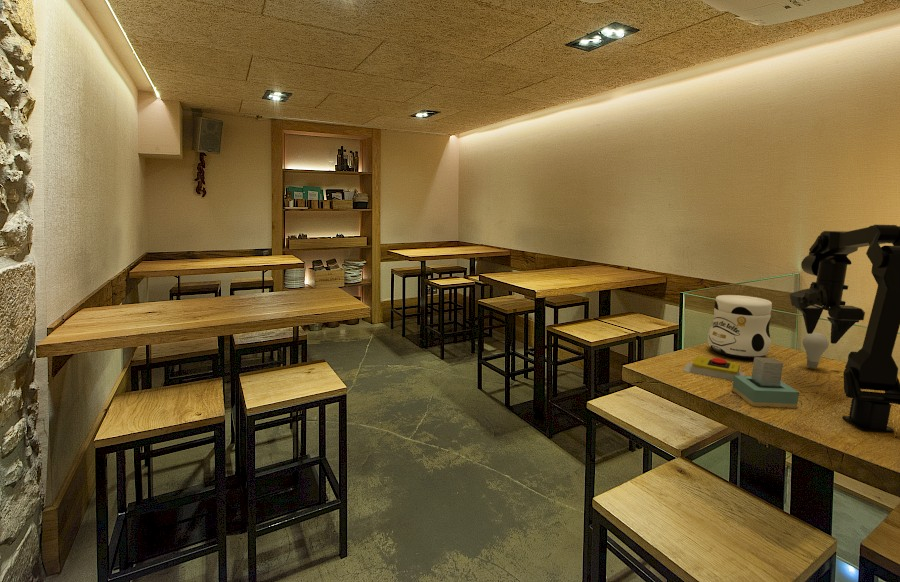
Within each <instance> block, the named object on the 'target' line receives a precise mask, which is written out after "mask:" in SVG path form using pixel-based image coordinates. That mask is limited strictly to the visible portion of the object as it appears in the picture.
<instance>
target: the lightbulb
mask: <svg viewBox="0 0 900 582" xmlns="http://www.w3.org/2000/svg"><path fill="white" fill-rule="evenodd" d="M829 344H830V342H829V339H828V338H827V336H825V335H824V334H823V333H819V332H813V333H812V334H808V333H807V334H806V335H804V338H803V339H802V346H803V348H804V350H805V353H806V354H805V355H806V367H808V368H809V369H810V370H815V369H817V368H818V365H819V362H820V361H821V357H822V356H823V354H824V353H825V352H826V351H827V350H828V347H829V346H830V345H829Z"/></svg>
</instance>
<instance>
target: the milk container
mask: <svg viewBox="0 0 900 582" xmlns="http://www.w3.org/2000/svg"><path fill="white" fill-rule="evenodd" d="M772 307H773V304H772V301H771V300H769V299H765V298H761V297H756V296H749V295H738V294H722V295H717V296H716V297H715V301H714V308H713V318H712V319H713V320H712V323H711V326H710V327H709V330H708V333H707V342H708V346H709V348H710V349H711V350H713V351H714V352H716V353H718V354H722V355H723V356H729V357H733V358H738V359H754V357H765V356H766V355H767V354H768V353H769V351H770V348H771V343H772V341H771V335H770V324H771V319H772V318H771V317H772V310H773V308H772Z"/></svg>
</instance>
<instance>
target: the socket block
mask: <svg viewBox="0 0 900 582" xmlns="http://www.w3.org/2000/svg"><path fill="white" fill-rule="evenodd" d="M751 378H752V375H744V376H735V375H734V380H733V381H732V388H731V389H732V391H733V392H734V393H735V394H736V395H738V396H741V398H742V399H743V400H745V401H746V402H747V403H748V404H749V403H750V405H751V406H752V407H762V406H770V407H769V408H785V407H787V408H788V409H790V408H791V409H792V408H793V409H797V408H798V402H799V401H798V400H799V395H800V391H798V390H797V389H795V388H793V387H792V386H790V385H789V384H786V383H785V382H784V381H782V380H781V382H780V388H759V387H758V386H756V385H755V384H753V383H752V382H751ZM772 406H773V407H772ZM787 408H786V409H787Z"/></svg>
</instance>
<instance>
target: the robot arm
mask: <svg viewBox="0 0 900 582" xmlns="http://www.w3.org/2000/svg"><path fill="white" fill-rule="evenodd" d="M883 244H892V245H883ZM881 245H883V246H881ZM864 247H868V248H867V250H866V253H865V255H866V256H867V258H868V259H869V262H870V263H871V264H872V265H871V274H872V276H873V278H874V280H875V282H876V284H877V288H876V292H875V297H874V301H873V304H872V309H871V312H870V316H869V320H868V324H867V328H866V330H865V331H866V332H865V335H864V336H865V337H864V339H863V344H862V347H861V348H860V349H859V350H858V351H850V353H848V356H847V361H846V364H845V366H844V368H845V369H844V371H843V375H842V376H843V392H844V394H845V397H847V398H849V399H851V403H850V409H849V415H842V417H841V418H842V419H843V420H844V421H847V422H848V423H850V424H851V425H853V426H854V427H856V428H858V429H860V430H861V431H864V432H880V433H882V432H883V433H884V432H885V433H894V432H895V429H893V427H890V426H888V425H889V424H888V423H889V419H890V414H891V409H892V405H900V379H899V377H898V374H899V367H898V365H897V364H896V361H895V360H894V358H893V352H894V348H895V345H896V341H897V338H898V333H899V330H900V226H899V225H897V224H873V225H870V226H867V227H863V228H858V229H853V230H849V231H847V230H846V231H844V230H842V231H841V230H824V231H821V232H820V234H819V235H818V236H817V237H816V239H815V241H814V243H813V244H812V245H811V247H810V248H809V249H808V250H809V252H808V255H806V256H805V257H804V258H803V259H802V261H801V263H800V265H801V266H800V267H801V269H802V272H805V273H806V274H809V275H812V276H815V277H816V280H815V281H811V283H810V284H809V288H805V289H800V290H798V291H794V292H791V293H789V295H788V296H789V299H790V304H791V306H792V307H794V308H795V309H797V310H799V312H800V313H801V314H802V316H803V321H804V325H805V331H806V333H807V335H808V334H812V333H814V331H815V329H816V327H817V325H818V322H819V320H820V318H821V316H822V314H823V312H824V311H827V314H828V316H827V317H826V318H827V320H828V321H829V322H830V324H831V326H830V344H833V345H835V344H837V343H838V342H839V341H840V340H841V338H843V337H844V335H845V334H846V333H847V332H848V331H849V330H850V329H851V328H852V327H853V326H854V325H855V324H856V323H860V321H865V320H864V319H865V317H866V312H865V311H864V310H863V308H861V307H858V306H854V305H846V301H845V300H842V299H843V295H844V294H843V293H844V290H845V291H847V290H849V285H847V284H845V280H846V275H847V270H848V266H849V265H852V260H850V259H849V258H848V256H849V255H850V254H853V253H855V252H857V251H858V250H859V248H864ZM865 390H866V391H865ZM868 390H869V391H868ZM878 391H879V392H878Z"/></svg>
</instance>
